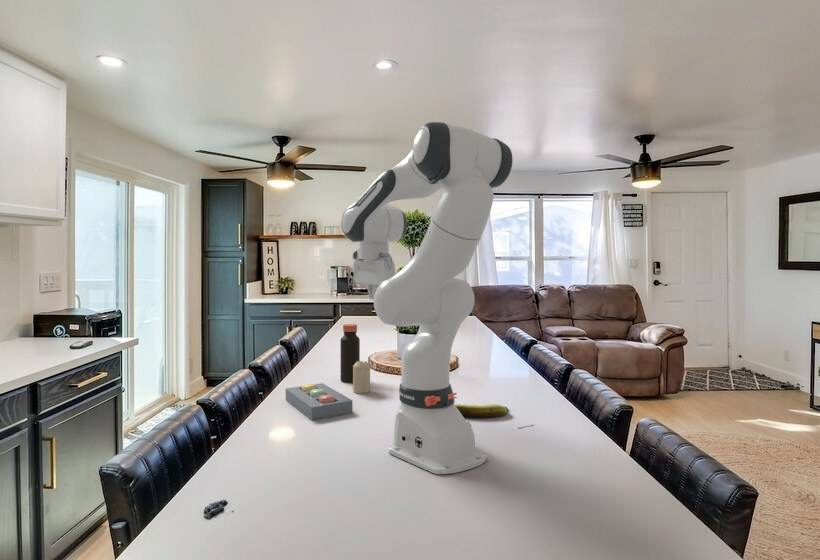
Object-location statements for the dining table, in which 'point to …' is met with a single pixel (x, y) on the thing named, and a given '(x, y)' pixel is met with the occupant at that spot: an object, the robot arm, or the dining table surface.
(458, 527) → the dining table surface
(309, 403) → the button panel
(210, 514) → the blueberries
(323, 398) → the brick button
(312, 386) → the mustard button
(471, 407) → the green and grey pieces
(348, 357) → the bottle
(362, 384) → the candle
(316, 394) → the sage button
